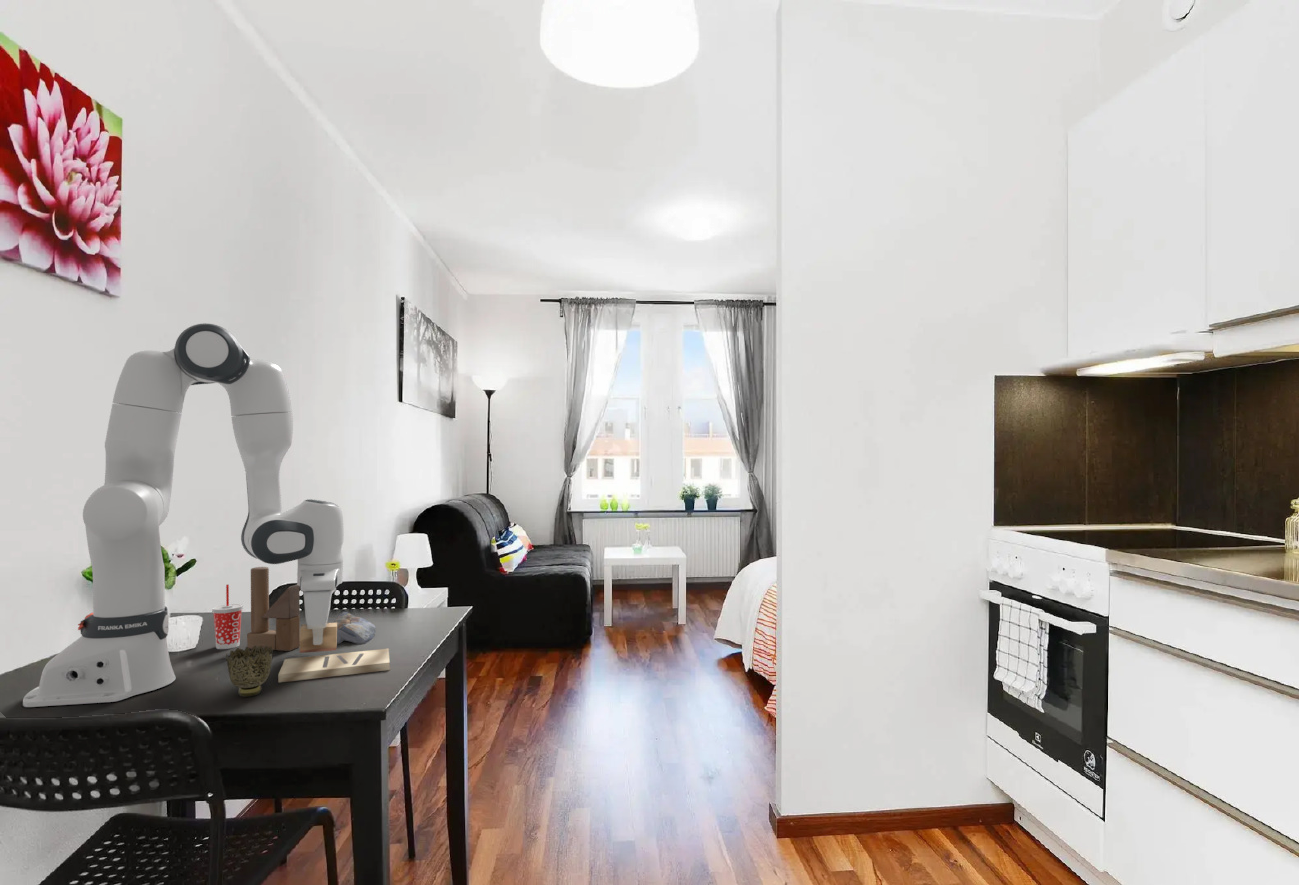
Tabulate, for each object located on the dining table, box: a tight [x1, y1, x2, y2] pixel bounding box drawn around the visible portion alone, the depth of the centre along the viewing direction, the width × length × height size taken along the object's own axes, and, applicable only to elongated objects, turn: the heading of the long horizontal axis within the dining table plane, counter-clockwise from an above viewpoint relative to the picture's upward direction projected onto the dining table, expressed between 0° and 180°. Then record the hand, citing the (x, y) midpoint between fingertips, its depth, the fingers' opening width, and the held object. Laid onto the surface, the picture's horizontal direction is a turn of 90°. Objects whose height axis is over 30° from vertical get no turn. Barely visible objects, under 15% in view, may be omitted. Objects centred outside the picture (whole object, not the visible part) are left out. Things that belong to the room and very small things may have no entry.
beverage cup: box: [211, 584, 244, 650], centre depth 165 cm, size 6×6×14 cm
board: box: [277, 648, 391, 683], centre depth 147 cm, size 20×11×2 cm, turn 111°
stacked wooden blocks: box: [246, 566, 301, 652], centre depth 163 cm, size 4×11×18 cm, turn 80°
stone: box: [332, 611, 376, 645], centre depth 173 cm, size 17×5×10 cm
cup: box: [225, 646, 274, 698], centre depth 132 cm, size 8×7×8 cm
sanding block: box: [299, 622, 338, 654], centre depth 154 cm, size 7×4×5 cm, turn 112°
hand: (318, 640), depth 154 cm, fingers closed on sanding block, 4 cm apart
